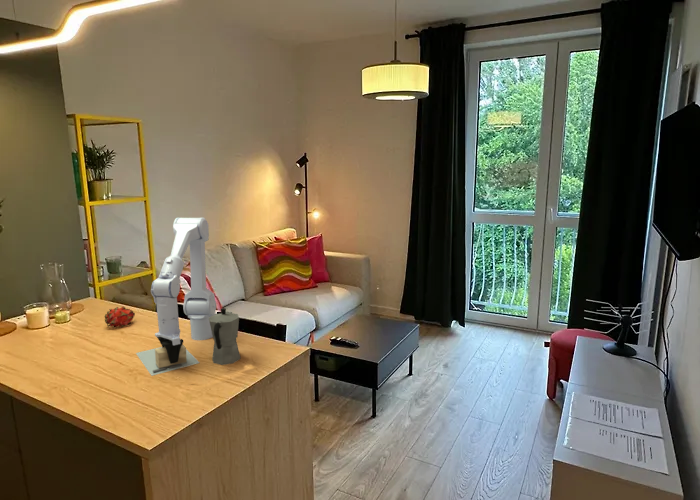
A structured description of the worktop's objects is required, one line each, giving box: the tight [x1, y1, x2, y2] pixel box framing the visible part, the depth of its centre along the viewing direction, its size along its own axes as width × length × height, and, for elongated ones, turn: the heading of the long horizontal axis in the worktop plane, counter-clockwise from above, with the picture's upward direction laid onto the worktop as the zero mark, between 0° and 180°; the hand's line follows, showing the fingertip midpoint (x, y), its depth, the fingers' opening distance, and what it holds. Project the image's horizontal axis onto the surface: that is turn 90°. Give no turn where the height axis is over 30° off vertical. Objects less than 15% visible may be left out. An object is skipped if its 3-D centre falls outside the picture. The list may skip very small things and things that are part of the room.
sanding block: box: [154, 343, 187, 369], centre depth 138 cm, size 8×4×5 cm, turn 126°
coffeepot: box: [209, 307, 241, 366], centre depth 139 cm, size 15×9×18 cm, turn 0°
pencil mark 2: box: [169, 363, 182, 369], centre depth 136 cm, size 4×1×1 cm, turn 126°
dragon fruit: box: [104, 306, 136, 329], centre depth 175 cm, size 8×8×12 cm
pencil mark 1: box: [153, 367, 166, 373], centre depth 134 cm, size 4×1×1 cm, turn 126°
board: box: [135, 346, 200, 377], centre depth 143 cm, size 14×20×2 cm
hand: (171, 359), depth 138 cm, fingers closed on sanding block, 4 cm apart
